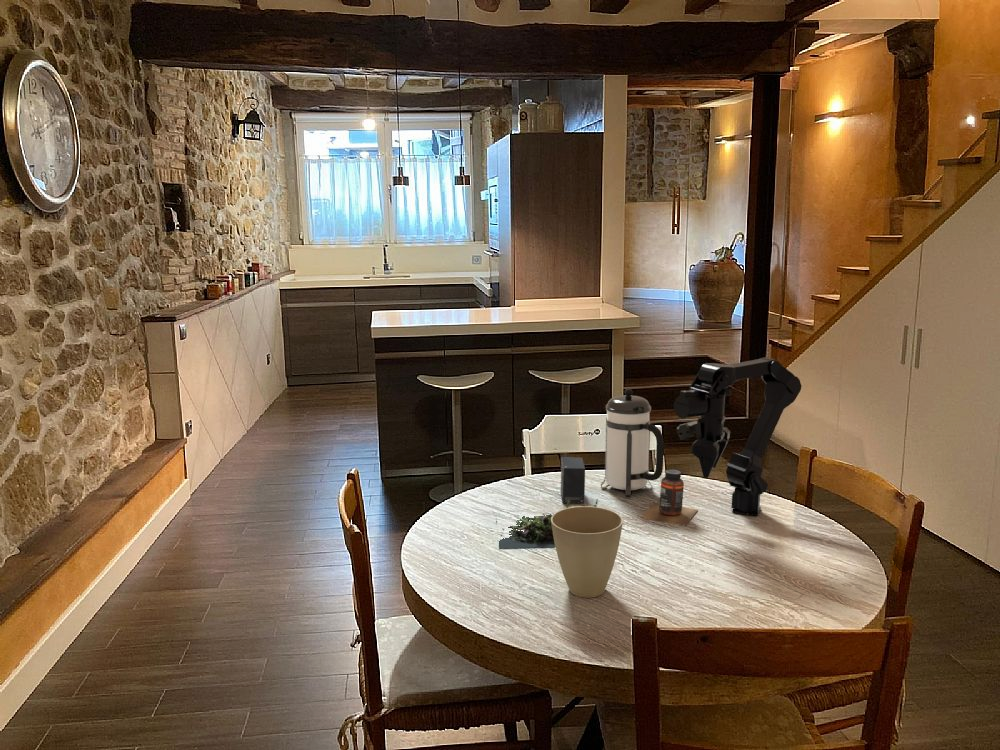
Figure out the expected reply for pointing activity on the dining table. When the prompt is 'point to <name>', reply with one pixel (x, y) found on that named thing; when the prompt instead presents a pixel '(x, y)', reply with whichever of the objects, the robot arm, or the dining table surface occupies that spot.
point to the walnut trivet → (679, 519)
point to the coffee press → (630, 443)
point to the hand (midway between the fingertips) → (709, 472)
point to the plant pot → (586, 547)
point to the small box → (572, 480)
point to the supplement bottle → (671, 493)
